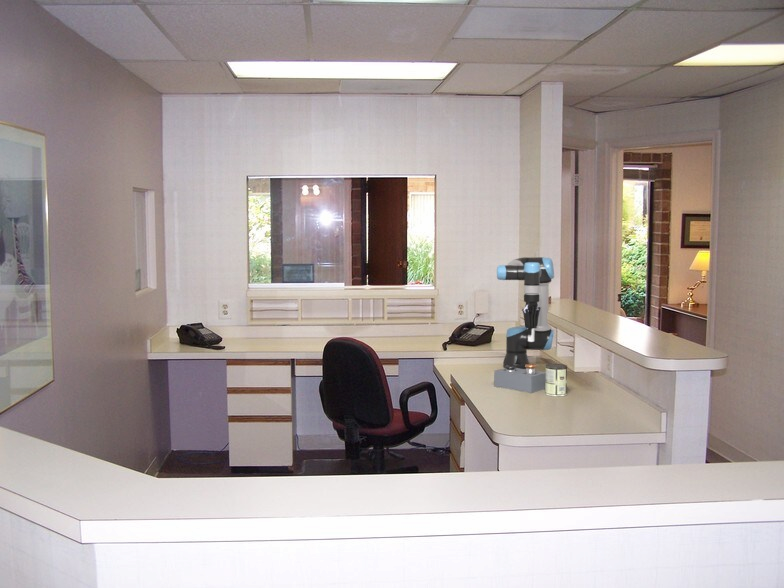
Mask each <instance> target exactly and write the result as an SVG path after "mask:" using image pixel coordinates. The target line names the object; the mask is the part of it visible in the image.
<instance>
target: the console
mask: <svg viewBox="0 0 784 588" xmlns="http://www.w3.org/2000/svg"><path fill="white" fill-rule="evenodd" d="M493 376H494V377H493V387H495V386H496V388H500V387H501V388H503V389H505V390H506V389H507V390H512V391H513V390H514V391H518V392H524V393H529V394H533V393H536V392H540V391H543V390H545V377H546V371H540V370H539V371H538V370H535V374H534V375H529V374H526V369H520V368H516V369H515V371H513V372H510V371H506V368H505V367H503V368H500V369H497V370H494V371H493ZM501 388H500V389H501Z"/></svg>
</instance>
